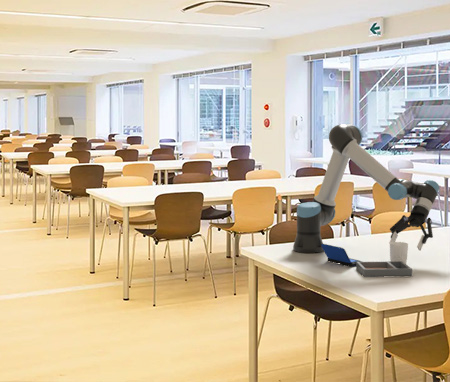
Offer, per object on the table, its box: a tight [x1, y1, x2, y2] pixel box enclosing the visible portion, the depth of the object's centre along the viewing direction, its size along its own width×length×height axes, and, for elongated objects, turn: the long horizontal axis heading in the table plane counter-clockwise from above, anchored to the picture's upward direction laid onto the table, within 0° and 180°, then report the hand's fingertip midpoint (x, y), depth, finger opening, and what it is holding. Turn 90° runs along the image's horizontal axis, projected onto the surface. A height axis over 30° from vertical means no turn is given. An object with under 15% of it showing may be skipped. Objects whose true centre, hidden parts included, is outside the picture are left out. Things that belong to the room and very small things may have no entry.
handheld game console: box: [321, 243, 364, 268], centre depth 300 cm, size 16×13×9 cm
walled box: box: [355, 260, 413, 278], centre depth 282 cm, size 20×15×3 cm
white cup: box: [389, 241, 409, 265], centre depth 295 cm, size 8×8×10 cm
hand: (404, 246), depth 296 cm, fingers open, 13 cm apart
